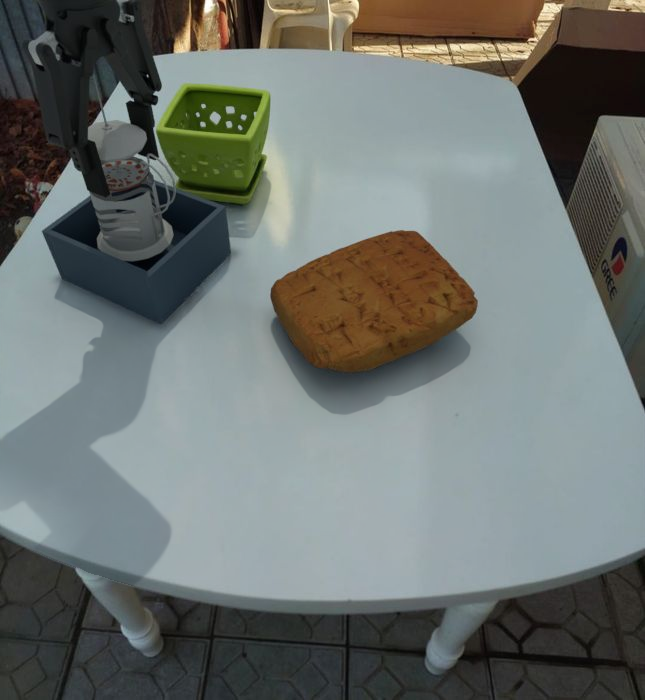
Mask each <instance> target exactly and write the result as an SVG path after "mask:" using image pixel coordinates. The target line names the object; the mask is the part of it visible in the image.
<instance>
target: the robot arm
mask: <svg viewBox="0 0 645 700" xmlns="http://www.w3.org/2000/svg"><path fill="white" fill-rule="evenodd" d="M36 2H37V4H39V6H40V8H41V9H42V12H43V14H44V32H43V33H42V34H41V35H39V36H38V37H37V38H35V39H32V38H28V37H27V38H25V39H23V40H22V43H21V47H22V50H23V52H24V54H25V56H26V58H27V60H28V61H29V64H30V66H31V69H32V74H33V79H34V84H35V89H36V94H37V99H38V104H39V109H40V114H41V115H40V116H41V120H42V123H43V124H42V125H43V129H44V135H45V139H46V141H47V143H49V144H51V145H54V146H56V147H59V148H62V149H64V150H67V151H69V154H70V157H71V161H72V164H73V166H74V168H75V169H76V171H78V172H81V176H82V178H83V181H84V185H85V187H86V191H88V192H89V191H90V192H93V193H95V194H98V195H100V196H103V197H105V198H106V197H107V196H109V195H110V192H109V188H108V185H107V181H106V178H105V174H104V171H103V168H102V164H101V161H100V157H99V154H98V151H97V147H96V144H95V142H94V141H91V140H88V127H89V114H90V113H89V109H90V82H91V81H90V80H91V77H93V73H94V74H95V63H97V62H98V61H99V60H100V59H101V58H102V57H103V59H104V60H105V61H106V63H107V64H108V65H109V67H110V68H111V70H112V71H113V74H115V76H116V77H117V79H118V81H119V82H120V84H121V86H122V87H123V88H124V90H125V91H126V93H127V94H128V96H129V98H131V99H133V100H128V101H126V102H125V106H126V111H127V114H128V120H129V124H133V125H136V126H139V127H140V128H141V129H142V130H144V131H145V132H146V136H147V141H146V143H145V145H144V147H143V149H142V150H141V151H140V152H139V153H137V155H139V156H141V157H143V158H144V157H145V158H147V155H148V154H153V155H154V156H156V157H157V158H159V159H160V153H159V150H158V145H157V139H156V135H155V131H154V128H155V127H156V121H155V118H154V117H155V115H154V111H153V110H154V109H153V106H154V107H155V106H157V104H158V103H159V96H158V95H156V94H155V93H156V92H158V93H159V92H161V91H162V88H163V83H162V80H161V76H160V73H159V71H158V68H157V64H156V62H155V58H154V55H153V51H152V49H151V46H150V43H149V40H148V36H147V33H146V29H145V27H144V23H143V10H142V3H141V1H139V0H36ZM73 61H75V62H77V63H75V62H73ZM78 63H80V64H78ZM149 160H152V161H157V160H156V159H155V158H153V157H151V156H149Z"/></svg>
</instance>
